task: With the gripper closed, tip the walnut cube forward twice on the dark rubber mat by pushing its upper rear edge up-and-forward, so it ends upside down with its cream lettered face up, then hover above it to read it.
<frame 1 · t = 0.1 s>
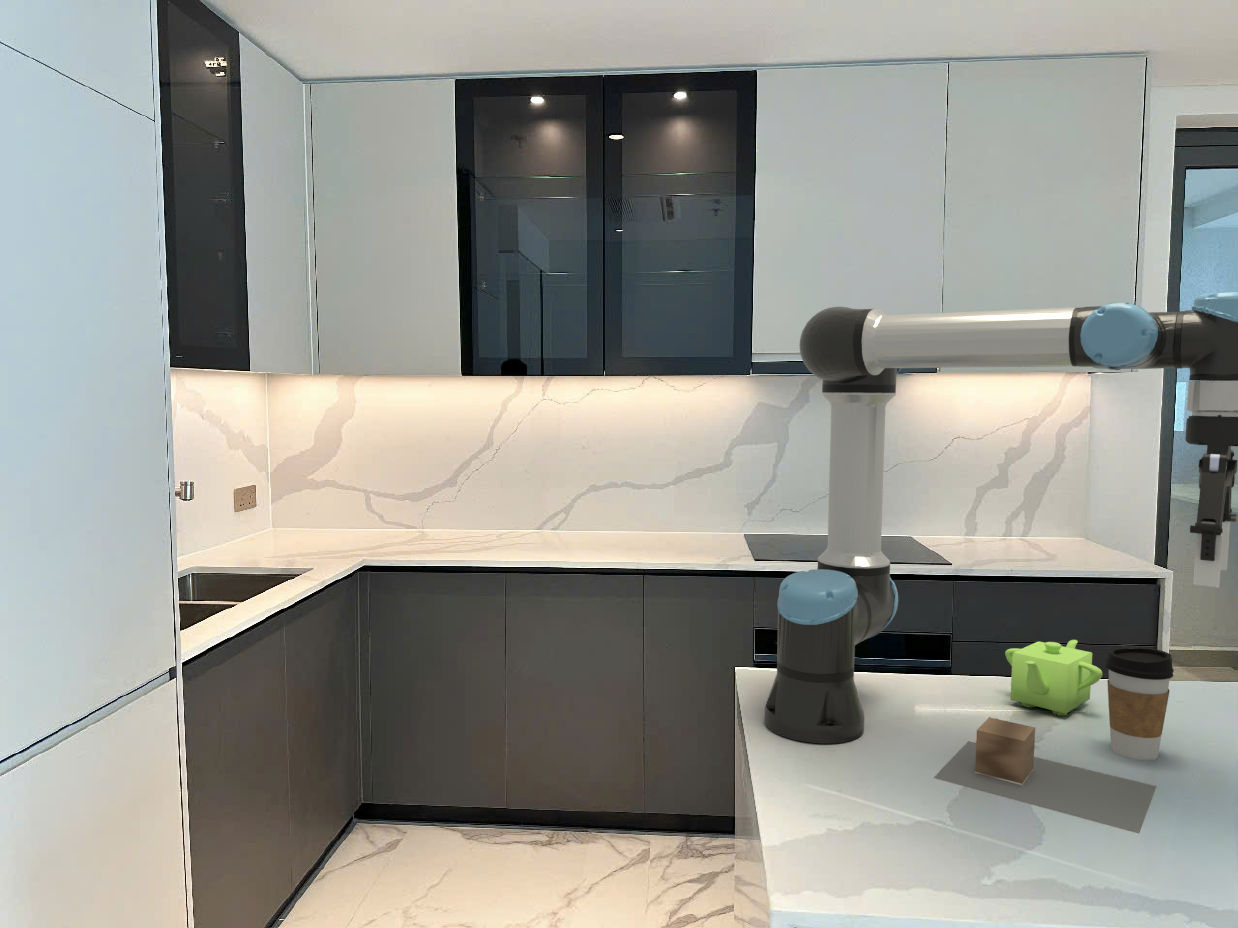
hand: (1210, 577, 116), 28 cm above the counter, fingers open, 13 cm apart
rubber mat: (1043, 783, 117), on the counter
walnut cube: (1004, 771, 120), resting on rubber mat
teapot: (1049, 706, 147), on the counter
coffee cup: (1133, 755, 128), on the counter
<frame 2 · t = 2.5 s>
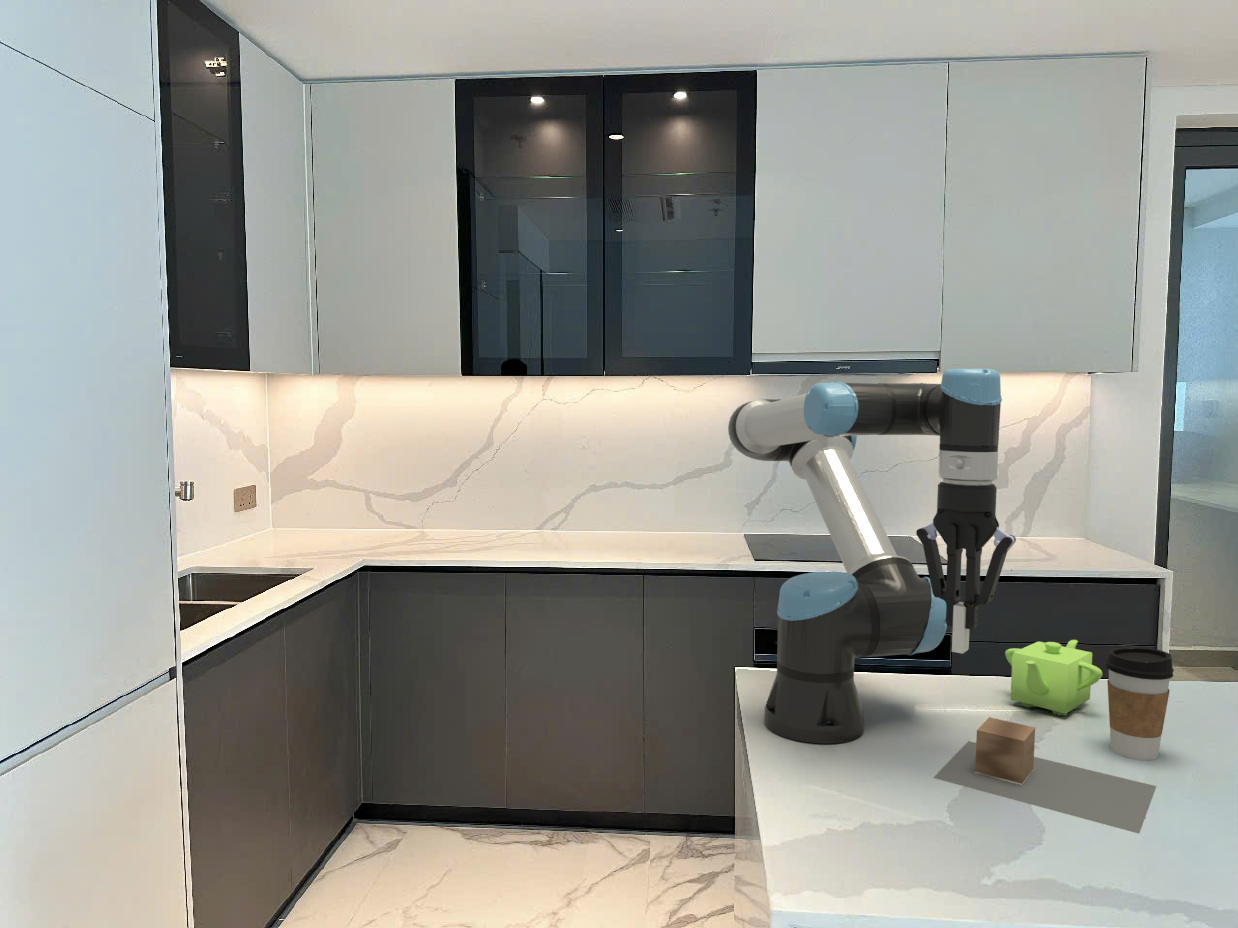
hand: (960, 650, 123), 16 cm above the counter, fingers closed
nothing on the counter moved.
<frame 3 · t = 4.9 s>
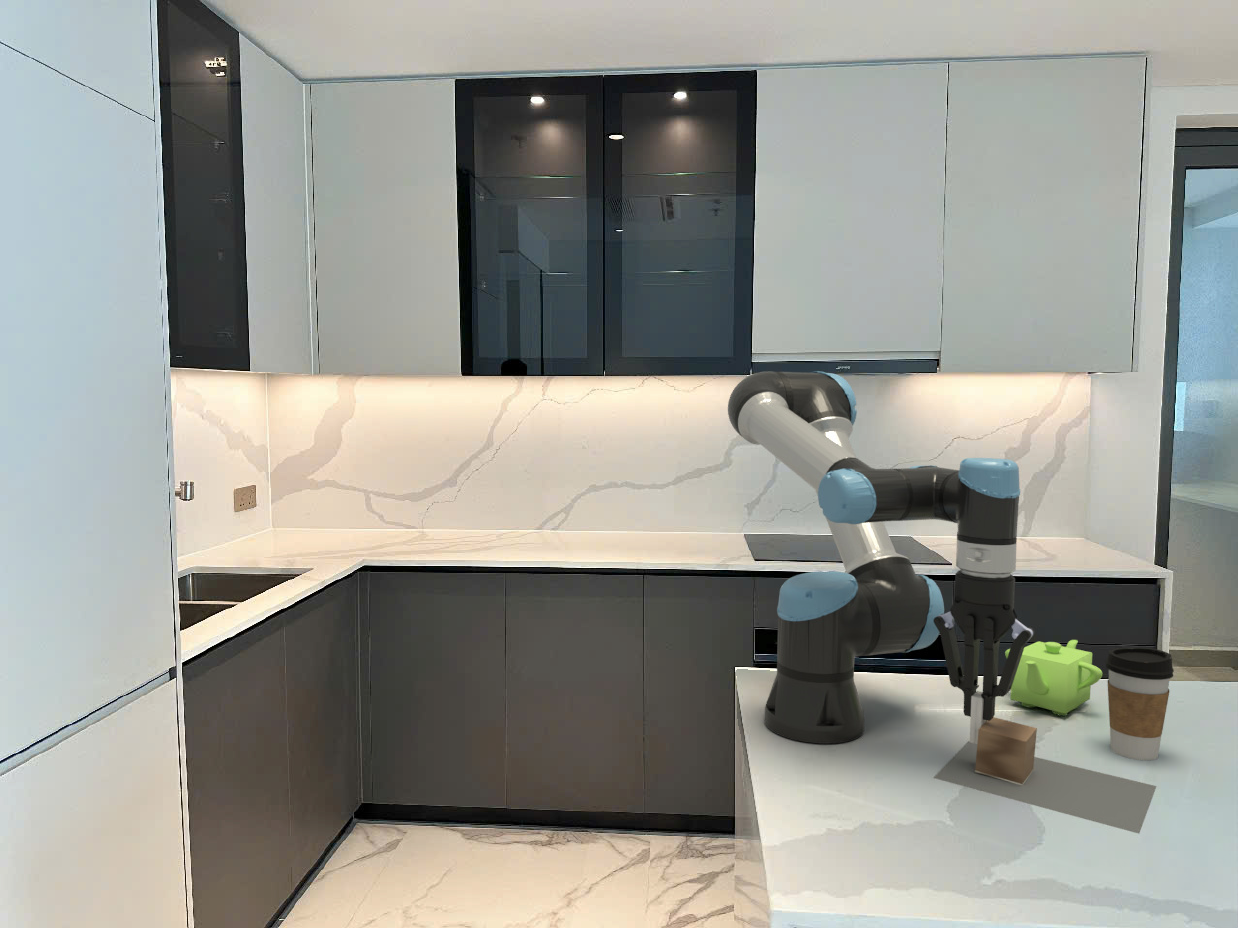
hand: (977, 740, 122), 4 cm above the counter, fingers closed
walnut cube: (1004, 770, 120), resting on rubber mat, touching gripper
everything else where it was.
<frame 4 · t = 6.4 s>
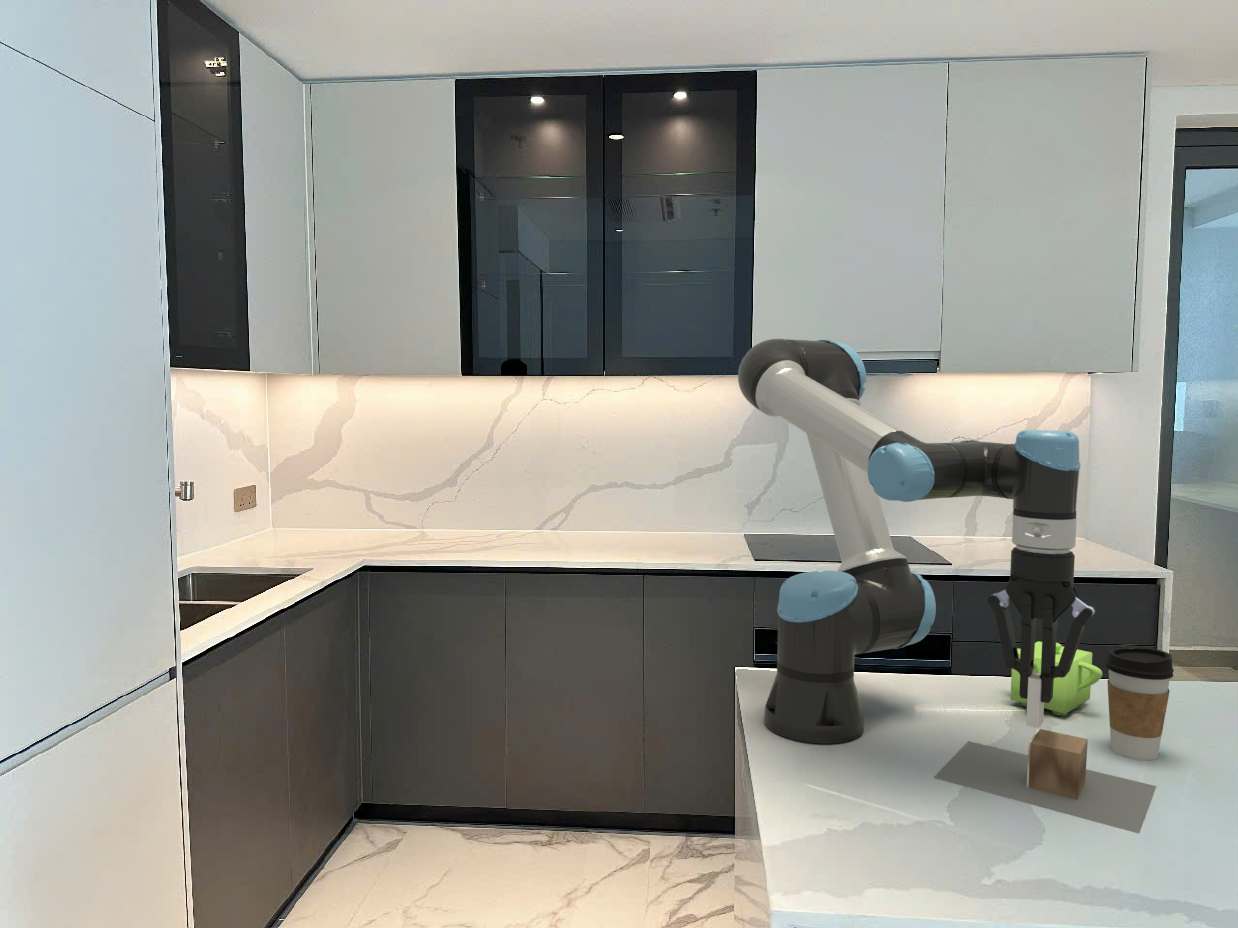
hand: (1034, 723, 118), 8 cm above the counter, fingers closed
walnut cube: (1032, 757, 118), point 3 cm above the counter, tilted 90°, touching rubber mat
everything else where it was.
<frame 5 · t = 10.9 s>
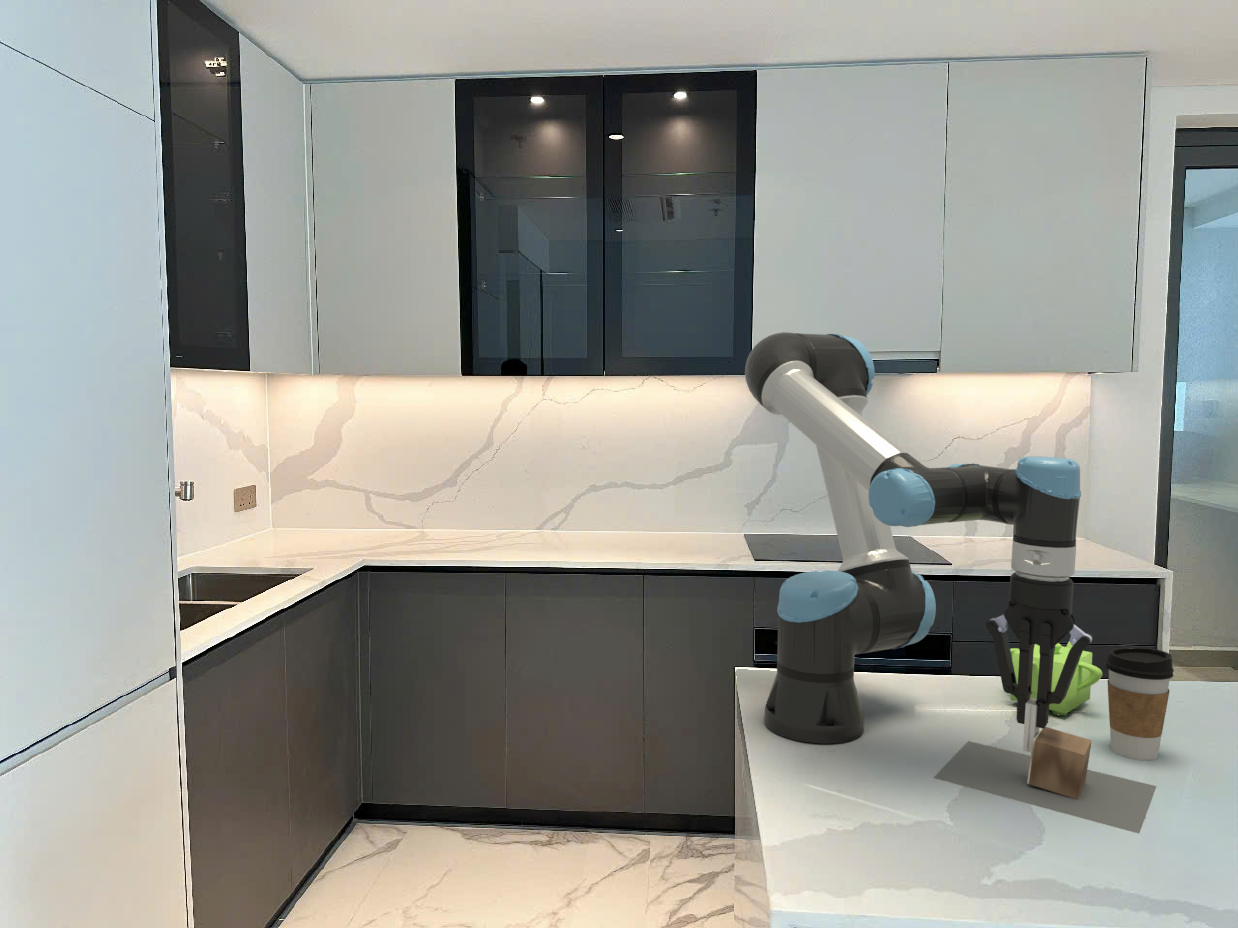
hand: (1030, 748, 118), 4 cm above the counter, fingers closed
walnut cube: (1034, 754, 118), point 4 cm above the counter, tilted 95°, touching gripper, rubber mat
everything else where it was.
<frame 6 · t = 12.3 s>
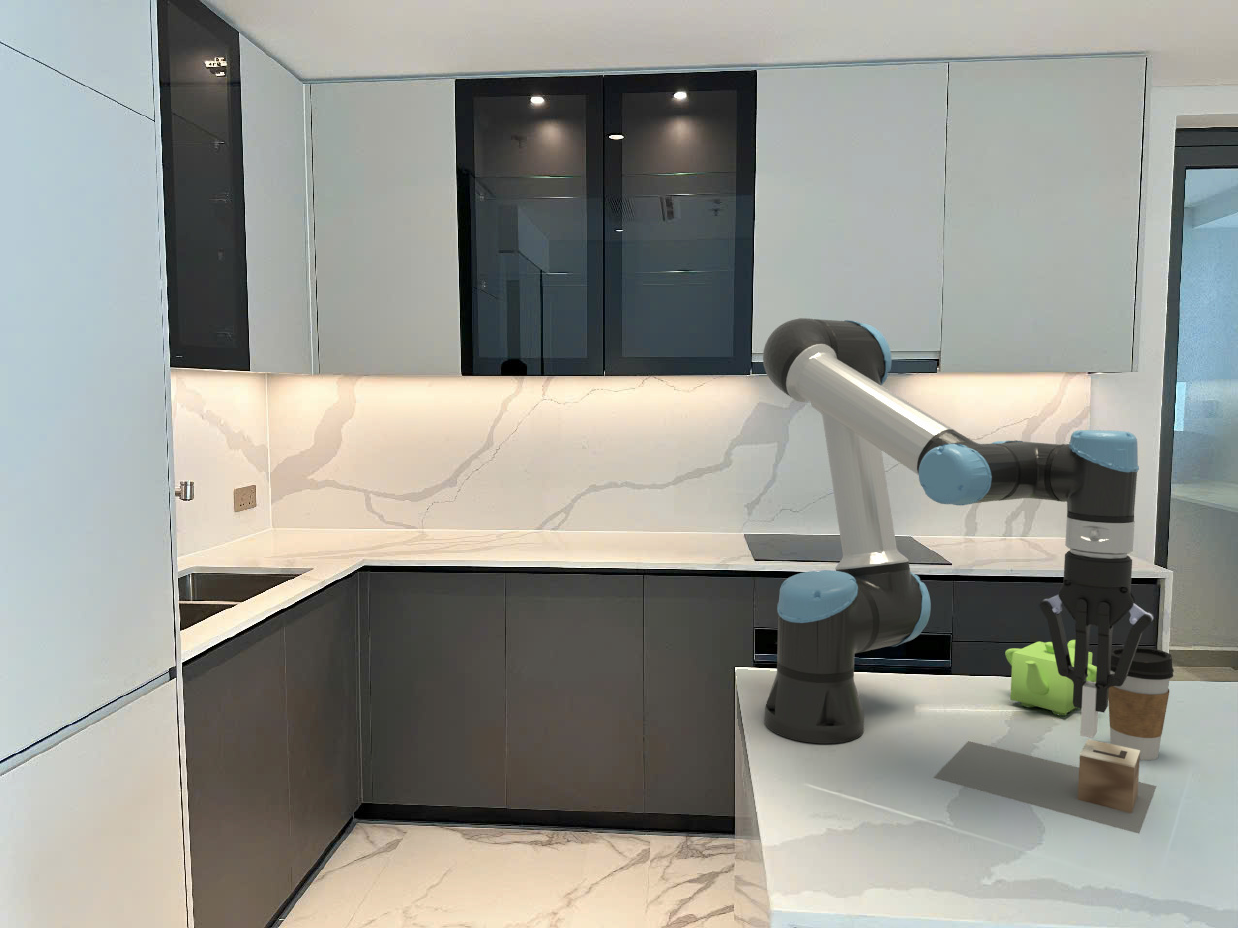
hand: (1088, 733, 114), 8 cm above the counter, fingers closed
walnut cube: (1110, 751, 112), point 6 cm above the counter, tilted 180°, touching rubber mat
everything else where it was.
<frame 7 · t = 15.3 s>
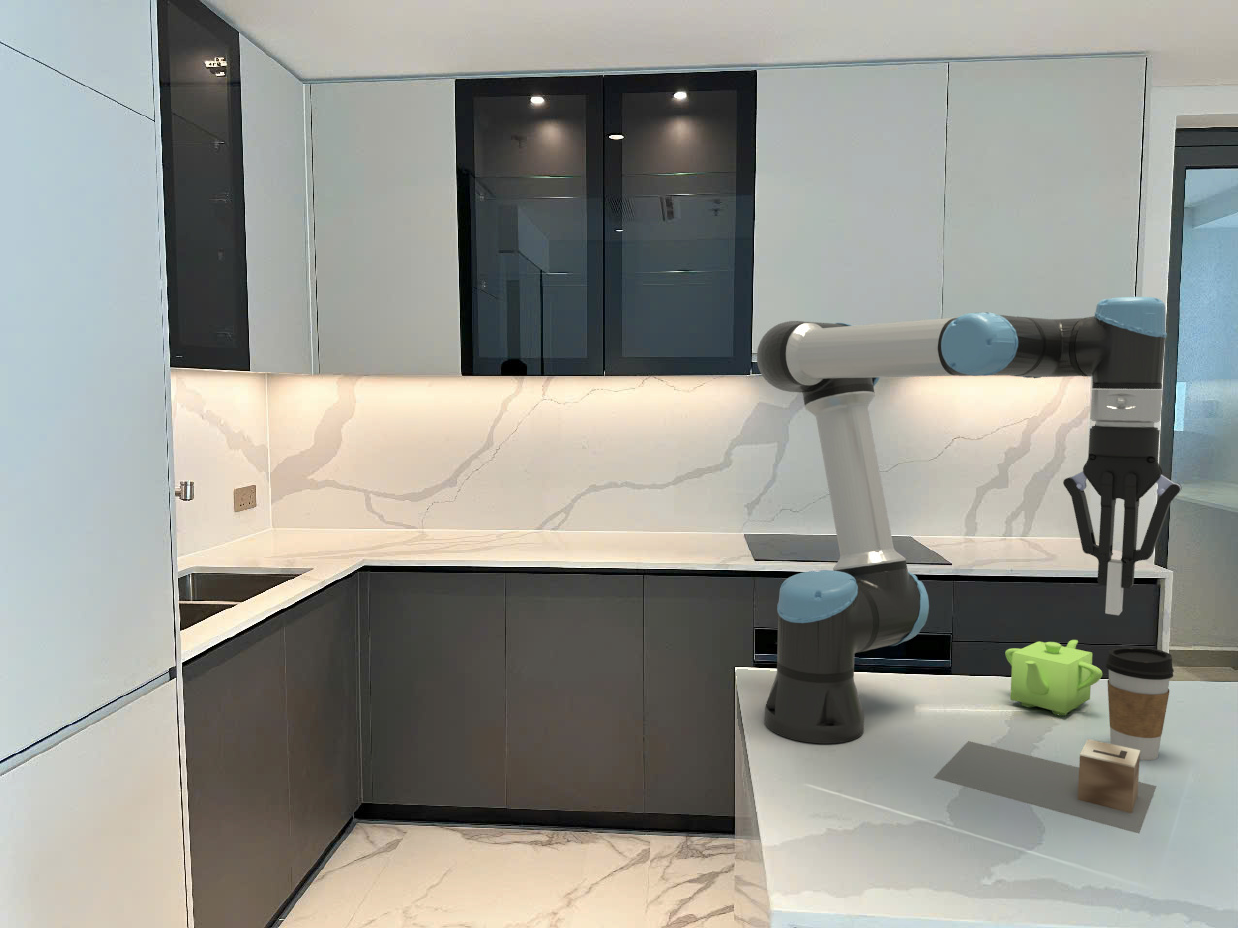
hand: (1113, 612, 111), 24 cm above the counter, fingers closed
nothing on the counter moved.
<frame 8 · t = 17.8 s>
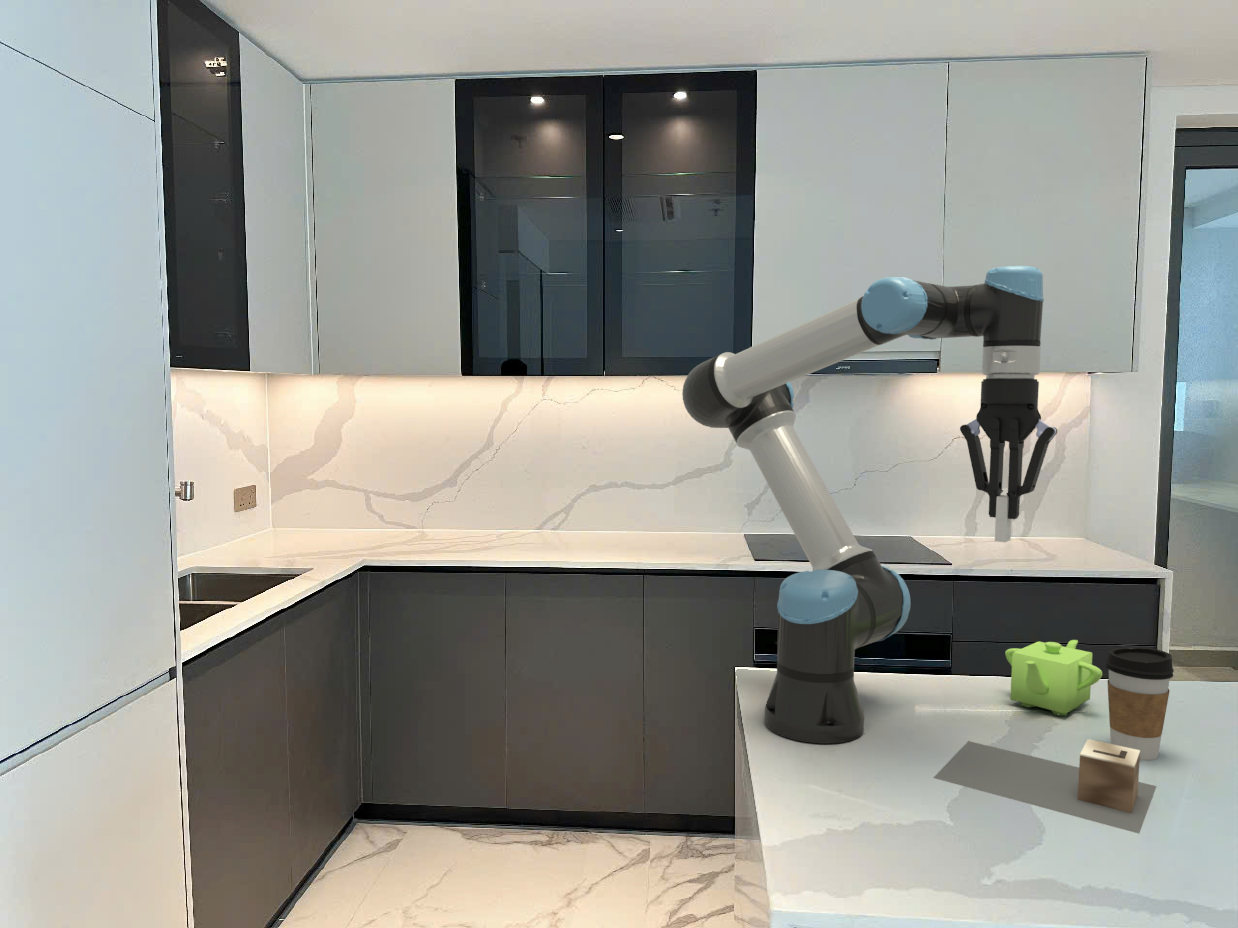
hand: (1002, 540, 128), 30 cm above the counter, fingers closed
nothing on the counter moved.
at the end: walnut cube tilted 180°; walnut cube inside the target area (0.5 cm from its centre), point 6.3 cm above the counter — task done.
